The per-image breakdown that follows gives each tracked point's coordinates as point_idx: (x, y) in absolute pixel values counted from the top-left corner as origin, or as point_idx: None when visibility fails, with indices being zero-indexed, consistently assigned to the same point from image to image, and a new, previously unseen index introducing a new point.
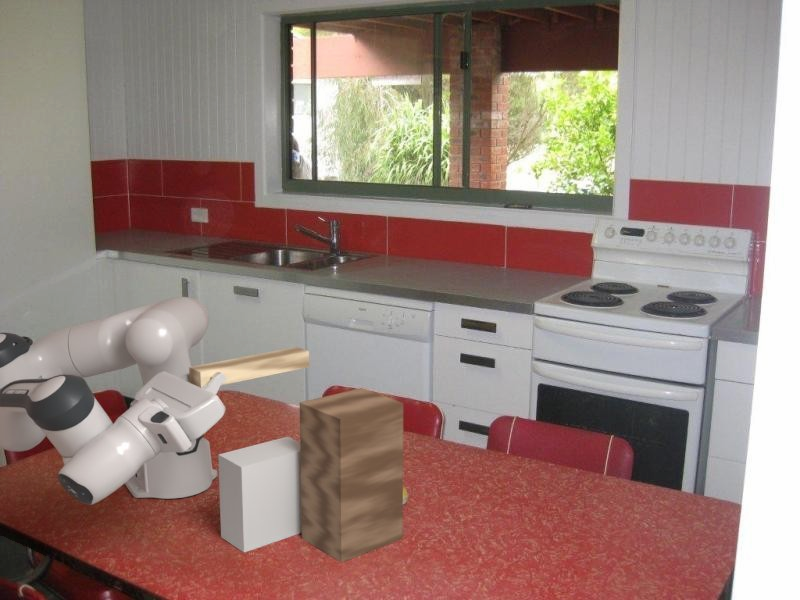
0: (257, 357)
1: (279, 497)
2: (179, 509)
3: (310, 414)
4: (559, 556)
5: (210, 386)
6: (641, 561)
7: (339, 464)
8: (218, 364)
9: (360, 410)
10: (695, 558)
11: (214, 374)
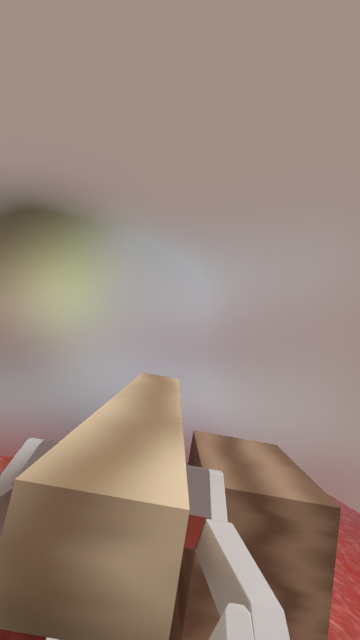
0: (151, 392)
1: None
2: None
3: (240, 507)
4: (337, 566)
5: (279, 607)
6: (355, 538)
7: (326, 609)
8: (128, 425)
9: (294, 473)
10: (353, 518)
11: (190, 487)
